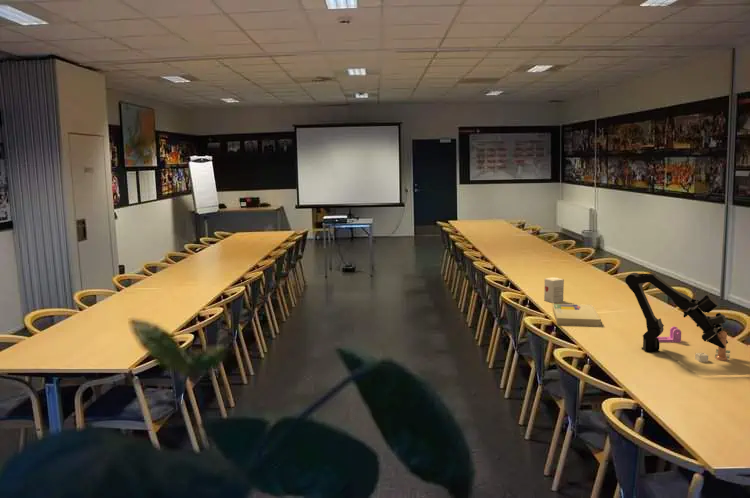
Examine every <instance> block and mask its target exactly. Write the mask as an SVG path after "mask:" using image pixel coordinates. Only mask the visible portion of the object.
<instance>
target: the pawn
mask: <svg viewBox="0 0 750 498" xmlns="http://www.w3.org/2000/svg"><path fill="white" fill-rule="evenodd" d="M718 336H719V339H720V340H721V342H722V343H723V344H724V346H725V348H724V349H723V348H721V347H719V346H717V349H718V355H716V359H717V360H716V361H721V360H722V362H723V361H724V362H726V361H725V360H727V356H726V350H727V344H726V340H727V341H728V339H727V337H728V332H726V330H722V331H720V332H719V333H718Z"/></svg>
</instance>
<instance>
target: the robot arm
mask: <svg viewBox="0 0 750 498" xmlns="http://www.w3.org/2000/svg"><path fill="white" fill-rule="evenodd" d="M624 281H625V284H626V285H627V287H628V288H629V289H630V291H632V293H634V297H635V298H636V301H637V303H638V305H639V307H640V309H641V312H642V314H643V316H644V319H645V323H646V329H647V331H646V332H644V333H643V334H642V337H643V339H642V341H643V342H642V347H641V349H642V350H643V351H644V352H646V353H660V352H661V350H660V344H661V342H659V339H658V338H657V337H660V335H661V334H662V333H663V332H664V330H665V329H664V328H665V325H664V324H663V322H662V318H657V317H656V315H655V313H654V312H653V309H652V306H651V305H650V303H649V300H648V298H647V296H646V293H645V291H644V287H643V284H647V283H650V284H651V285H653V287H655V288H656V289H658V290H659V291H661V292H662V293H664V294H665V295H666V296H667V297H668V298H670V299H671V300H672V302H673V303H674V304H675V305H676V307H678V308H679V309H680V310H681V311H683V317H682V318H686V317H689V318H690V319H691V320H692V321H693V323H695V326H696V327H697V328H700V330H701V331H702V334H701V339H702V340H703V341H704V342H707V343H709V344H712V345H715V346H717V347H718V346H719V347H721V348H723V349H724V348H725V346H724V344H723V343H722V342H721V340H720V339H719V336H718V333H719V332H720V331H723V324H726V322H727V318H726V315H724V314H722V313H721V312H717V313H716V314H715V316H713V317H711V316H710V315H706V314H705V313H707V314H709V313H710V312H712V311H713V310H714V309H716V308H718V306H719V305H720V304H719V303H718V301H717V300H716V299H715V298H713V297H712V296H710V295H709V293H708V294H705V295H704V297H703V298H701V299H700V300H698V299H694V298H692V297H691V296H689V295H687V294H685V293H683V292H680V291H678V290H676V288H673V287H672V286H671V285H670V284H669V283H667V282H665V281H664V280H662V279H661V278H660V277H659V276H657V275H656V273H653V272H651V273H638V272H631V273H629V274H628V275H627V276H626V277H625V280H624ZM727 344H729V341H728V339H727V340H726V345H727Z"/></svg>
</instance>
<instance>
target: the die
mask: <svg viewBox="0 0 750 498" xmlns="http://www.w3.org/2000/svg"><path fill="white" fill-rule="evenodd" d="M694 360H696V361H697V362H700V363H703V362H705V363H706V362H707V363H708V362H709V355H708V354H707V353H705V352H695V354H694Z"/></svg>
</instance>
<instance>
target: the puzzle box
mask: <svg viewBox="0 0 750 498" xmlns="http://www.w3.org/2000/svg"><path fill="white" fill-rule="evenodd" d="M552 314H553V316H554V320H555V324H556V325H557V326H583V327H584V326H585V327H601V318H600V316H599V314H598V312H597V310H596V309H595V306H593V304H582V303H580V304H577V303H573V304H572V303H552Z"/></svg>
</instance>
